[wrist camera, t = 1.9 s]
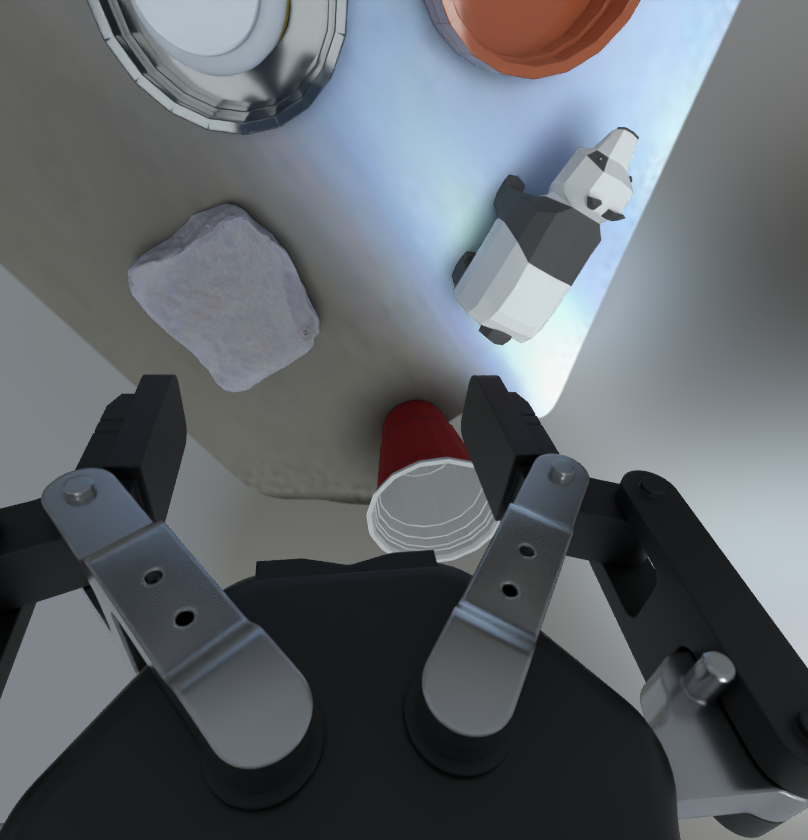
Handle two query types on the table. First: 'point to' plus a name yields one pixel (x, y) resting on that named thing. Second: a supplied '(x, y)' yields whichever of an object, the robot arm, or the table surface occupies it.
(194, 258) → the stone block
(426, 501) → the plastic cup
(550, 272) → the giant panda
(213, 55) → the pill bottle
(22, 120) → the table surface
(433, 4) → the terracotta bowl
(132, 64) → the metal bowl
